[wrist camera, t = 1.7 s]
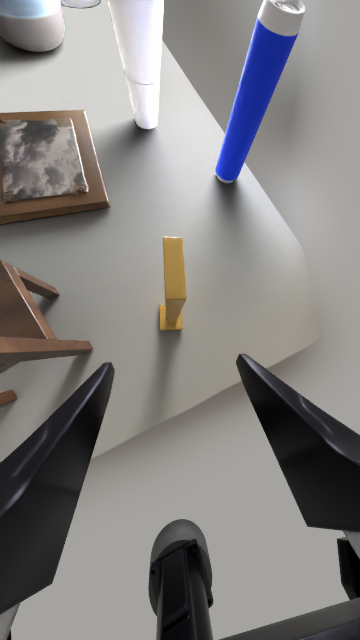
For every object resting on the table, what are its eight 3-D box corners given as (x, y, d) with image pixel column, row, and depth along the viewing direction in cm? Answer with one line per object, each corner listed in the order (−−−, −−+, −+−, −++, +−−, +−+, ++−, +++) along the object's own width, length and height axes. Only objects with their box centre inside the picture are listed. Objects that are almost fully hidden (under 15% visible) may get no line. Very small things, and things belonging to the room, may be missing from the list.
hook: (182, 329, 21) (199, 310, 10) (160, 330, 21) (152, 311, 9) (180, 293, 23) (193, 237, 11) (159, 293, 22) (151, 236, 11)
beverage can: (230, 164, 30) (292, -11, 15) (240, 182, 29) (316, 15, 14) (210, 168, 29) (255, -13, 14) (220, 186, 28) (278, 14, 14)
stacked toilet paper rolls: (124, 101, 30) (66, -234, 13) (170, 110, 31) (175, -192, 14) (119, 133, 28) (41, -214, 11) (168, 142, 29) (171, -165, 12)
